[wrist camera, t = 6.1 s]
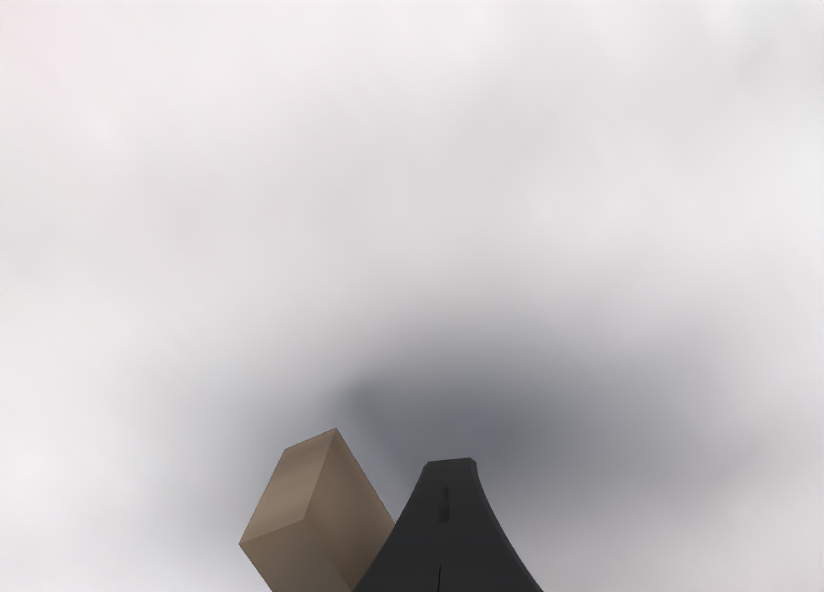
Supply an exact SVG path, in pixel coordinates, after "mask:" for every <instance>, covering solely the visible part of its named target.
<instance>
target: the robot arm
mask: <svg viewBox="0 0 824 592" xmlns="http://www.w3.org/2000/svg"><path fill="white" fill-rule="evenodd" d="M351 592H543V591H542V589H541V588H540V587H539V585H538V584H537V583H536V581H535V580H534V579H533V577H532V576H531V574H530V573H529V571H528V570H527V568H526V567H525V565H524V564H523V563H522V561H521V559H520V558H519V556H518V555H517V553H516V552H515V550H514V548H513V547H512V545H511V544H510V542H509V540H508V538H507V537H506V535H505V533H504V532H503V530H502V528H501V526H500V524H499V522H498V520H497V518H496V517H495V515H494V513H493V511H492V509H491V507H490V505H489V503H488V500H487V498H486V496H485V493H484V491H483V488H482V486H481V483H480V480H479V477H478V472H477V465H476V462H475V461H474V460H472V459H471V458H460V459H450V460H440V461H431V462H428V463H427V464H426V465H425V466H424V468H423V471H422V473H421V475H420V478H419V480H418V482H417V484H416V486H415V489H414V491H413V493H412V495H411V497H410V499H409V501H408V502H407V504H406V506H405V508H404V510H403V512H402V514H401V515H400V517H399V519H398V521H397V522H396V524H395V526H394V528H393V530H392V531H391V533H390V535H389V536H388V538H387V540H386V541H385V543H384V544H383V546H382V548H381V549H380V551H379V552H378V554H377V555H376V557H375V558H374V560H373V561H372V563H371V564H370V566H369V567H368V569H367V570H366V572H365V573H364V575H363V576H362V578H361V579H360V580H359V582H358V583H357V584H356V586H355V587H354V589H353V590H352V591H351Z"/></svg>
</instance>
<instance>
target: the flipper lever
mask: <svg viewBox="0 0 824 592" xmlns="http://www.w3.org/2000/svg"><path fill="white" fill-rule="evenodd" d="M394 526H395V523H394V521H393V519H392V518H391V516H390V514H389V513H388V511H387V510H386V508H385V506H384V505H383V503H382V501H381V500H380V498H379V497H378V495H377V493H376V492H375V490H374V488H373V487H372V485H371V484H370V482H369V480H368V479H367V477H366V475H365V474H364V472H363V470H362V469H361V467H360V466H359V464H358V462H357V461H356V459H355V457H354V456H353V454H352V453H351V451H350V449H349V448H348V446H347V444H346V443H345V441H344V440H343V438H342V436H341V435H340V433H339V431H338V430H337V428H334V429H332V430H330V431H327V432H325V433H322V434H320V435H318V436H315V437H313V438H311V439H308V440H306V441H303V442H301V443H299V444H296V445H294V446H292V447H289V448H287V449H285V450H284V452H283V454H282V456H281V458H280V460H279V462H278V464H277V467H276V469H275V471H274V473H273V475H272V477H271V479H270V481H269V483H268V485H267V487H266V489H265V491H264V493H263V495H262V497H261V499H260V501H259V503H258V505H257V508H256V510H255V512H254V514H253V516H252V518H251V520H250V522H249V524H248V526H247V528H246V530H245V532H244V534H243V536H242V538H241V540H240V542H239V545H240V547H241V548H242V550H243V551H244V552H245V554H246V555H247V557H248V558H249V559H250V561H251V562H252V564H253V565H254V566H255V568H256V569H257V571H258V572H259V573H260V575H261V576H262V578H263V579H264V580H265V582H266V583H267V585H268V586H269V587H270V589H271V590H272V592H351V591H352V590H353V589H354V587H355V586H356V584H357V583H358V582H359V580H360V579H361V578H362V576H363V575H364V573H365V572H366V570H367V569H368V567H369V566H370V564H371V563H372V561H373V560H374V558H375V557H376V555H377V554H378V552H379V551H380V549H381V548H382V546H383V544H384V543H385V541H386V540H387V538H388V536H389V535H390V533H391V531H392V530H393V528H394Z"/></svg>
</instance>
